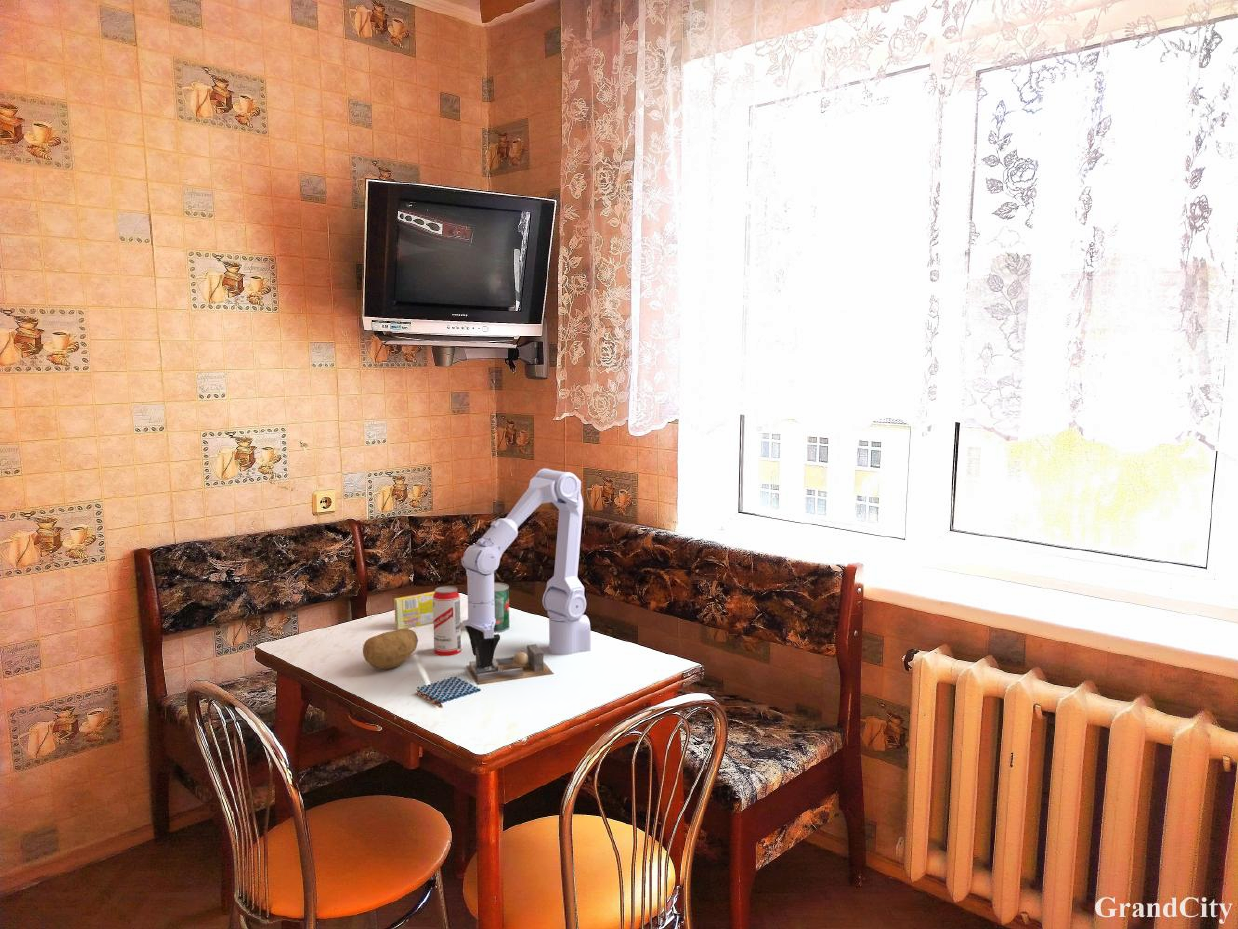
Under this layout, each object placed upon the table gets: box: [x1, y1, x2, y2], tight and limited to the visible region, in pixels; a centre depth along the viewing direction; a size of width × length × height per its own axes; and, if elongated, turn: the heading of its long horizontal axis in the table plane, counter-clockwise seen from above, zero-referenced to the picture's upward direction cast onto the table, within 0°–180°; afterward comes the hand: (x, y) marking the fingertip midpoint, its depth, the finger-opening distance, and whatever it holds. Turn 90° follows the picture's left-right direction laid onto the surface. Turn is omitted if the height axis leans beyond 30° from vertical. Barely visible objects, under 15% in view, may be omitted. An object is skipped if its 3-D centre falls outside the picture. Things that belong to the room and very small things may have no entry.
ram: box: [470, 646, 498, 679], centre depth 187 cm, size 5×6×6 cm
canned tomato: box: [493, 582, 510, 634], centre depth 221 cm, size 8×8×11 cm
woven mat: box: [416, 676, 481, 708], centre depth 178 cm, size 10×11×2 cm
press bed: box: [465, 643, 555, 686], centre depth 189 cm, size 17×12×5 cm
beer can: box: [432, 585, 462, 657], centre depth 200 cm, size 6×6×16 cm
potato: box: [362, 628, 419, 669], centre depth 194 cm, size 10×14×8 cm
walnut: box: [513, 651, 529, 668], centre depth 190 cm, size 4×4×4 cm
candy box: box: [393, 590, 435, 630], centre depth 224 cm, size 16×2×8 cm, turn 126°
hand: (482, 660), depth 187 cm, fingers open, 7 cm apart
